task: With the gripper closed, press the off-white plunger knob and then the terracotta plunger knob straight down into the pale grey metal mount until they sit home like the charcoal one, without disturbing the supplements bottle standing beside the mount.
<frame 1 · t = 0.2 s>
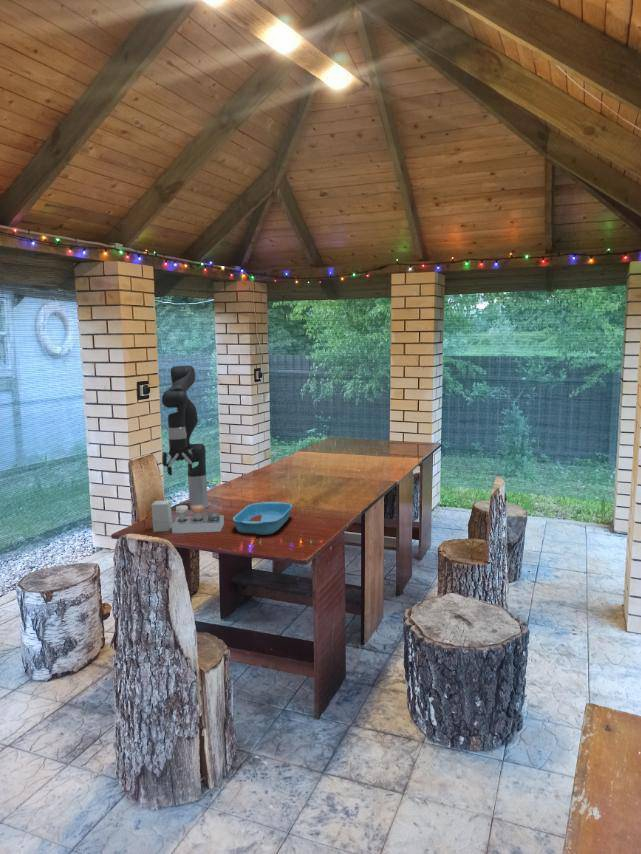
hand: (180, 473, 256), 27 cm above the table, fingers open, 8 cm apart
knob b: (197, 513, 263), point 8 cm above the table, slide at 0.0 cm
mount: (198, 530, 264), on the table
knob a: (182, 514, 263), point 8 cm above the table, slide at 0.0 cm
supplement box: (163, 529, 268), on the table
casserole dish: (264, 526, 269), on the table
knob c: (214, 521, 264), point 4 cm above the table, slide at 4.0 cm
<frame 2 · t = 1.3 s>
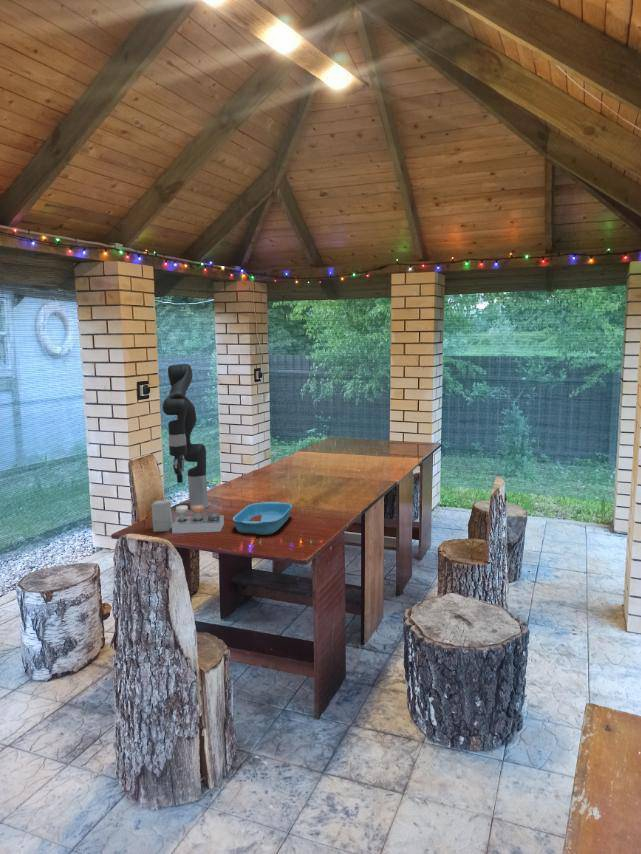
hand: (180, 482, 261), 22 cm above the table, fingers closed
nothing on the table moved.
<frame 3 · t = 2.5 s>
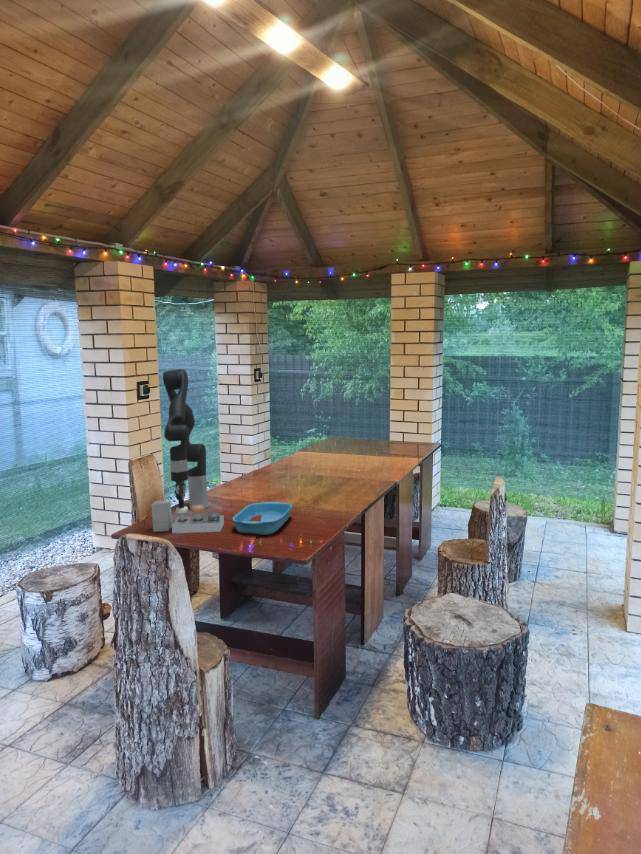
hand: (181, 507, 262), 11 cm above the table, fingers closed
knob a: (182, 514, 263), point 7 cm above the table, slide at 0.4 cm, touching gripper
everything else where it was.
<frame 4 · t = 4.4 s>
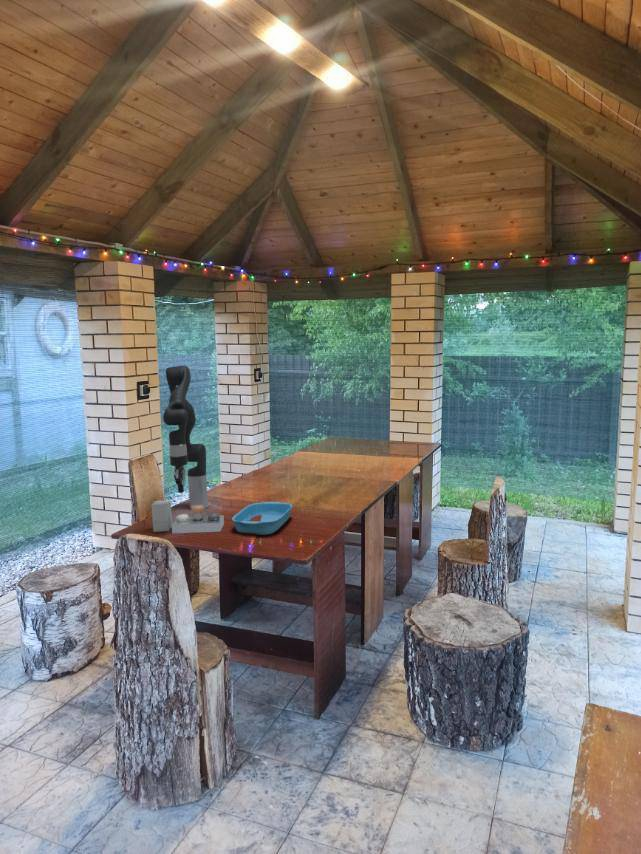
hand: (181, 492, 262), 18 cm above the table, fingers closed
knob a: (182, 522, 263), point 4 cm above the table, slide at 4.1 cm
everything else where it was.
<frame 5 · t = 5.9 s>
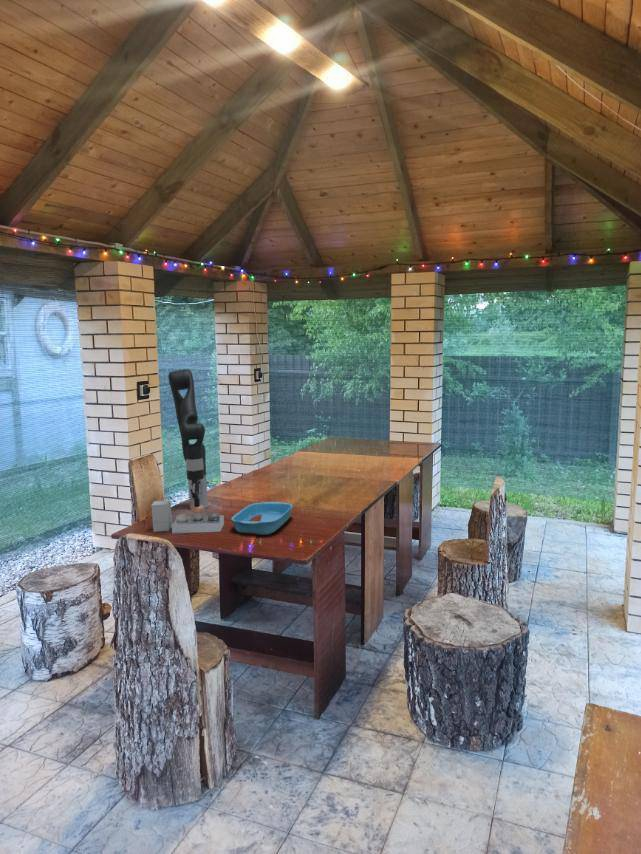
hand: (197, 506, 262), 11 cm above the table, fingers closed
knob b: (197, 513, 263), point 8 cm above the table, slide at 0.0 cm, touching gripper
everything else where it was.
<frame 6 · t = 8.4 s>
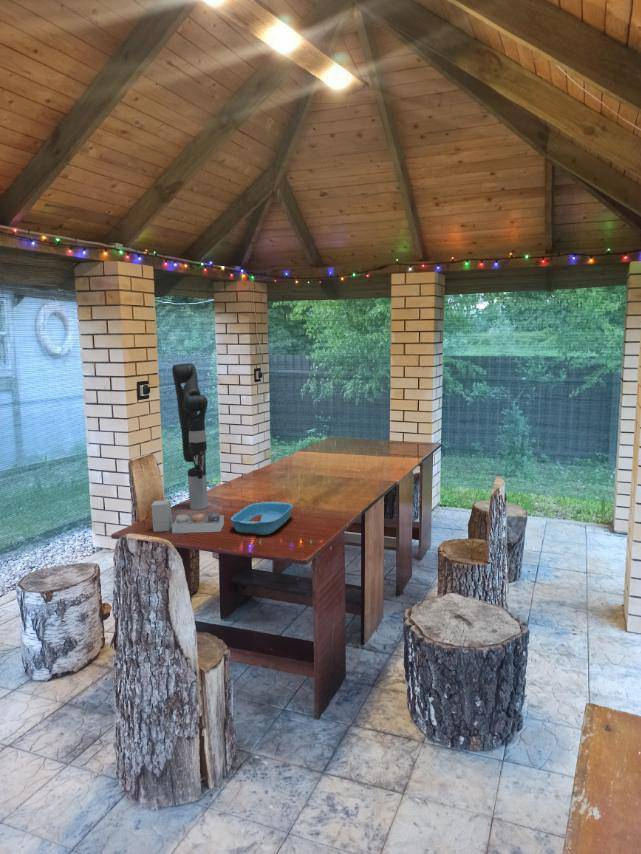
hand: (200, 478, 263), 23 cm above the table, fingers closed
knob b: (198, 522, 263), point 4 cm above the table, slide at 4.1 cm
everything else where it was.
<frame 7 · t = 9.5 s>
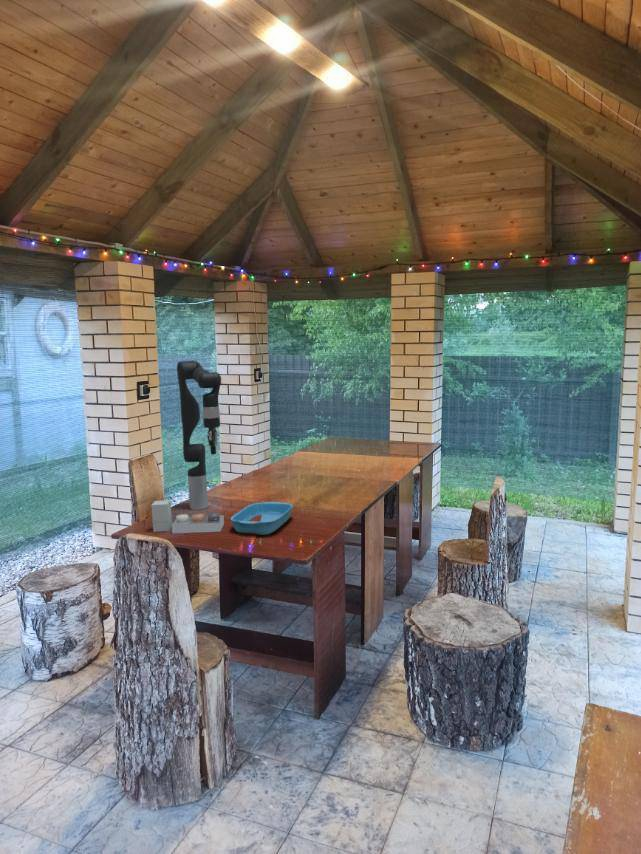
hand: (213, 454, 269), 33 cm above the table, fingers closed
nothing on the table moved.
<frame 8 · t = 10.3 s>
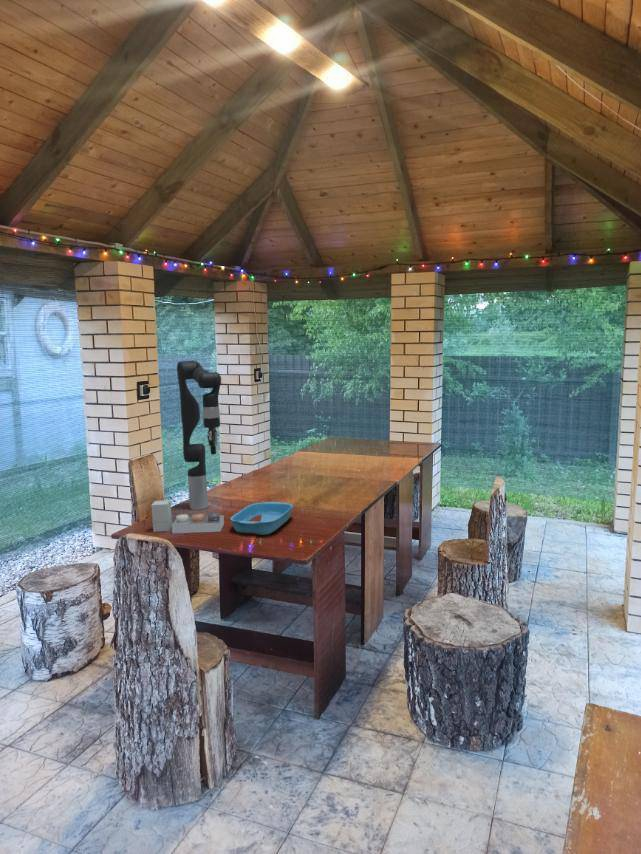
hand: (213, 454, 269), 33 cm above the table, fingers closed
nothing on the table moved.
at the end: knob a slide at 4.1 cm; knob b slide at 4.1 cm; supplement box tilted 0° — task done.
